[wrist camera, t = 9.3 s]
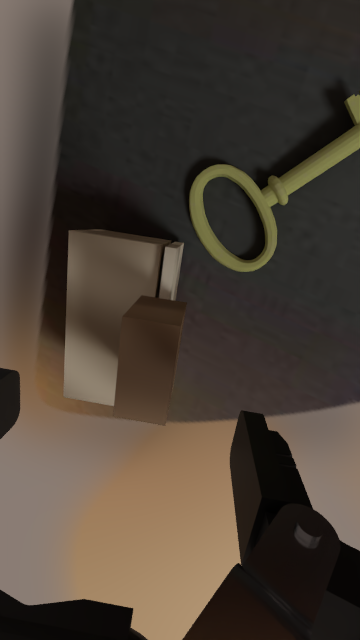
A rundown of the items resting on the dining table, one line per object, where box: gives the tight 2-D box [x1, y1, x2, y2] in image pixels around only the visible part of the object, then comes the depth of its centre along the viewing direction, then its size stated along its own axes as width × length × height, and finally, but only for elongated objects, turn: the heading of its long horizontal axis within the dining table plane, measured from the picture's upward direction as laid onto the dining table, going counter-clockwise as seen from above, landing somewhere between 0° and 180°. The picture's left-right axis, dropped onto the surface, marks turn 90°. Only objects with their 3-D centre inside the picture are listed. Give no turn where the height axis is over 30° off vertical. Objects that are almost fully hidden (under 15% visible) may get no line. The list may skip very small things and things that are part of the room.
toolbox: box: [64, 229, 171, 406], centre depth 20 cm, size 10×5×5 cm, turn 172°
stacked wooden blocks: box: [113, 242, 187, 425], centre depth 18 cm, size 10×5×9 cm, turn 172°
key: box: [189, 91, 360, 272], centre depth 19 cm, size 7×12×2 cm, turn 142°
